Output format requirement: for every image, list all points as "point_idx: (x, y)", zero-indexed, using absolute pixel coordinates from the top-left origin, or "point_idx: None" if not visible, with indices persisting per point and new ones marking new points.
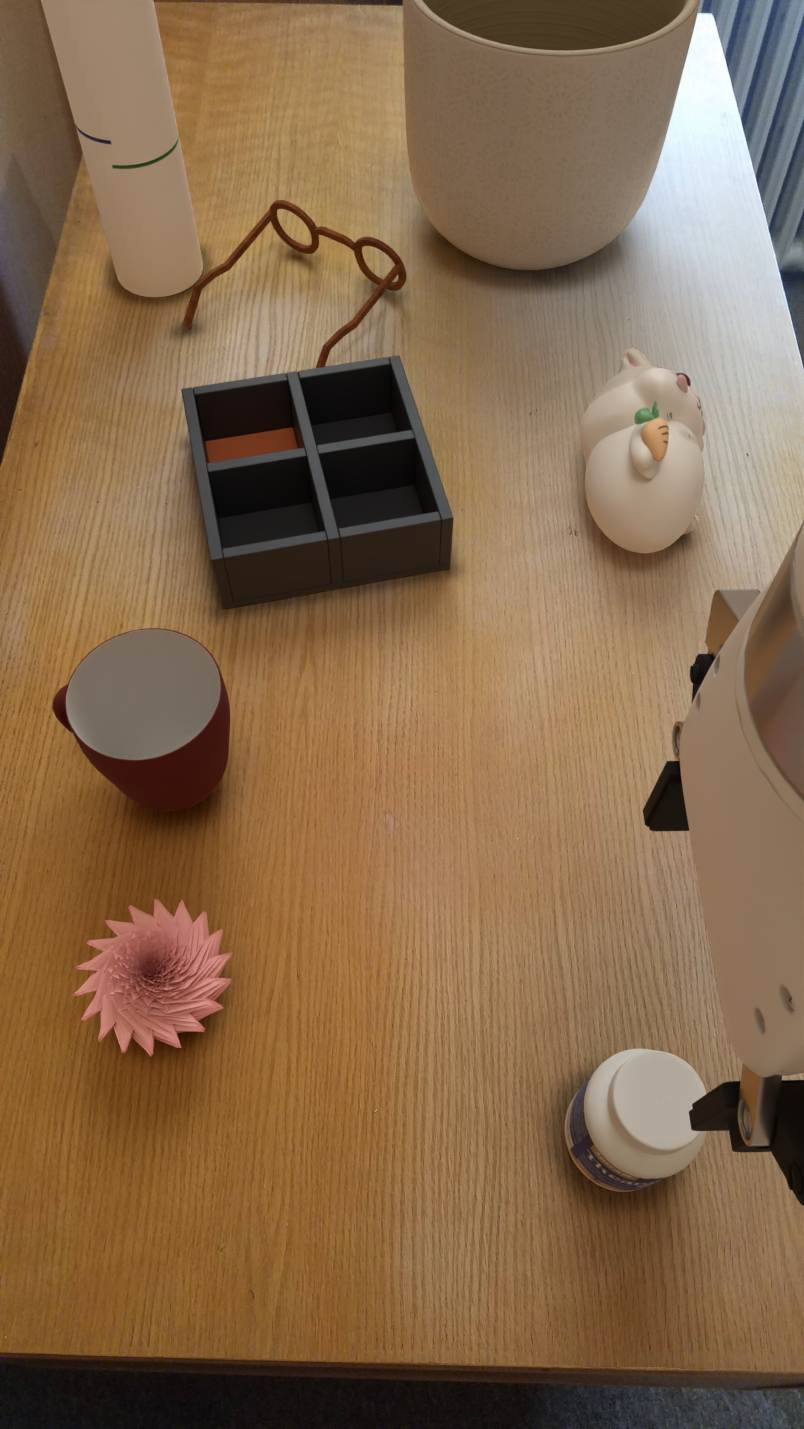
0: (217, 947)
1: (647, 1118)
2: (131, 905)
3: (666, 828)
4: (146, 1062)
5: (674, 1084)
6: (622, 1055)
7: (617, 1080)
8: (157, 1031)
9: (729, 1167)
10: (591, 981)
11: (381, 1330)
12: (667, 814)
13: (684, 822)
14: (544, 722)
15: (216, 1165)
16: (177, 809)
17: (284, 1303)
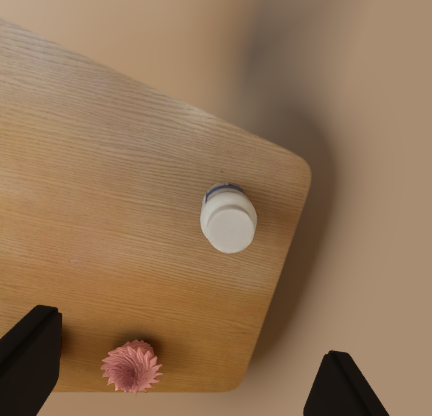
0: (124, 348)
1: (237, 240)
2: (102, 376)
3: (55, 372)
4: (163, 356)
5: (225, 223)
6: (202, 226)
7: (217, 248)
8: (154, 372)
9: (247, 162)
10: (161, 194)
11: (265, 298)
12: (31, 413)
13: (46, 373)
14: (21, 177)
15: (202, 338)
16: (60, 352)
17: (249, 324)
